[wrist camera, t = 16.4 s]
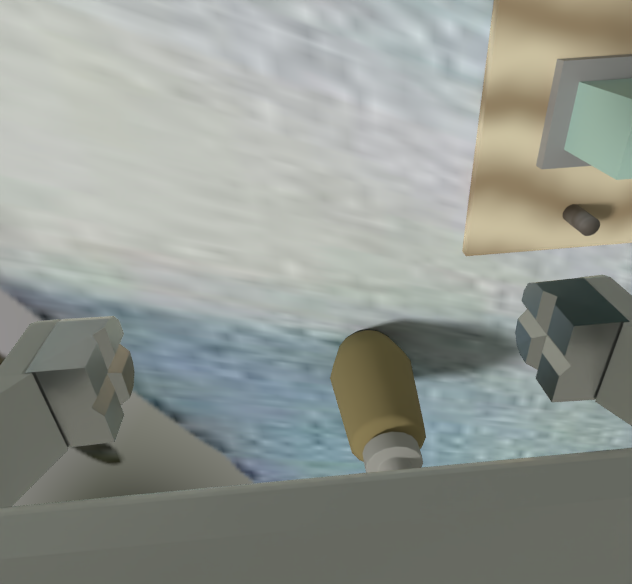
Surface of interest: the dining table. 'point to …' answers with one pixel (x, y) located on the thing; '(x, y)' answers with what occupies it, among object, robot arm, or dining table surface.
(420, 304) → the dining table surface
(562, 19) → the locating board
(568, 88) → the flange block
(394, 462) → the squeeze bottle
